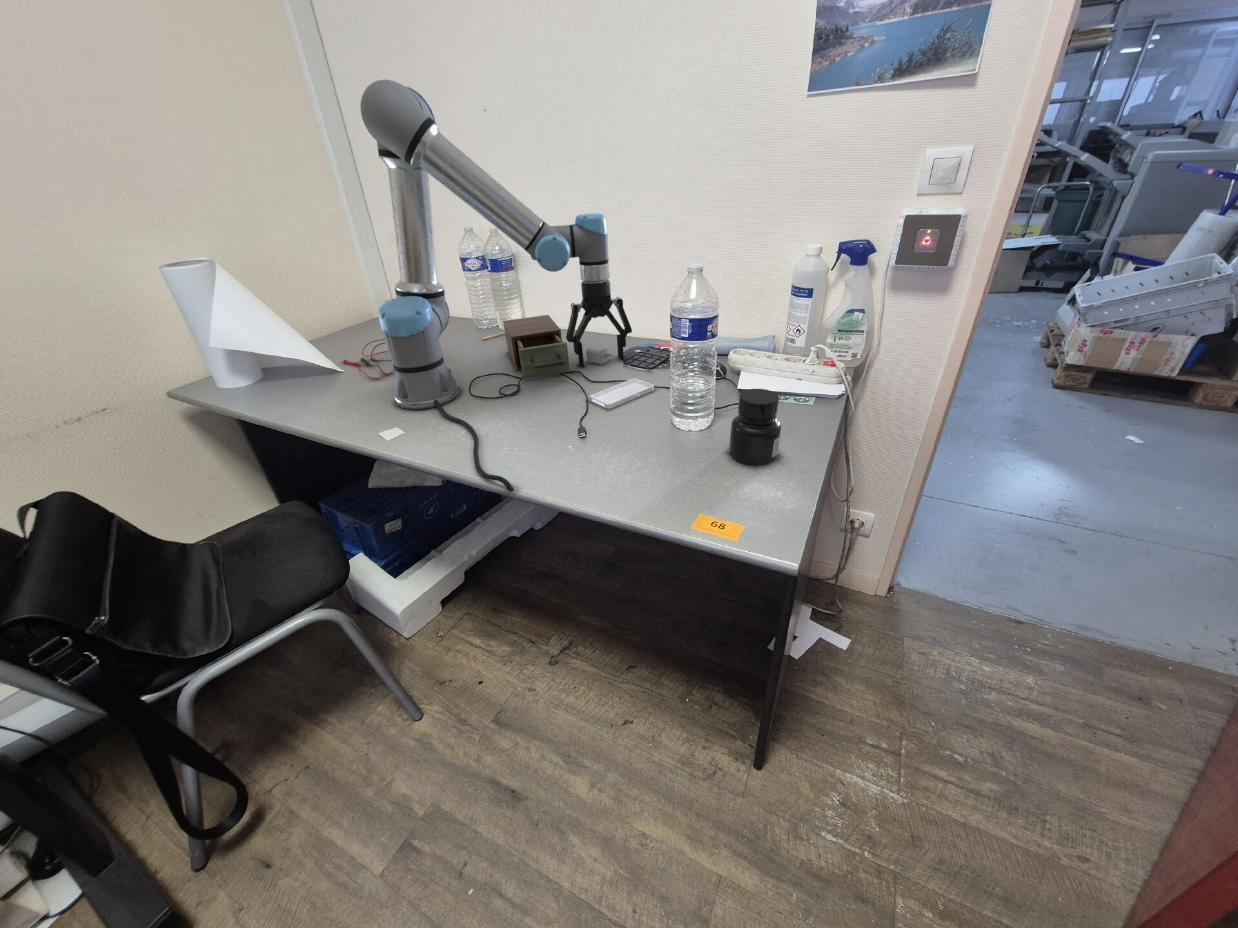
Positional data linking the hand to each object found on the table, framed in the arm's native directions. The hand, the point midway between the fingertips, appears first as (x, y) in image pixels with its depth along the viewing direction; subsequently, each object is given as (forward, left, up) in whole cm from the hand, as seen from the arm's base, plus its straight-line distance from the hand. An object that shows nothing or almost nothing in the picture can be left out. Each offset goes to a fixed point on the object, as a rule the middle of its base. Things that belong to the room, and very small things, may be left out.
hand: (601, 361), depth 141 cm
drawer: (-1, +17, +1) cm, 17 cm away
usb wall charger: (0, 0, 0) cm, 0 cm away
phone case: (-24, +2, 0) cm, 24 cm away
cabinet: (+13, +17, 0) cm, 21 cm away
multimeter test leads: (+28, +57, 0) cm, 64 cm away
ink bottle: (-60, -12, 0) cm, 61 cm away
